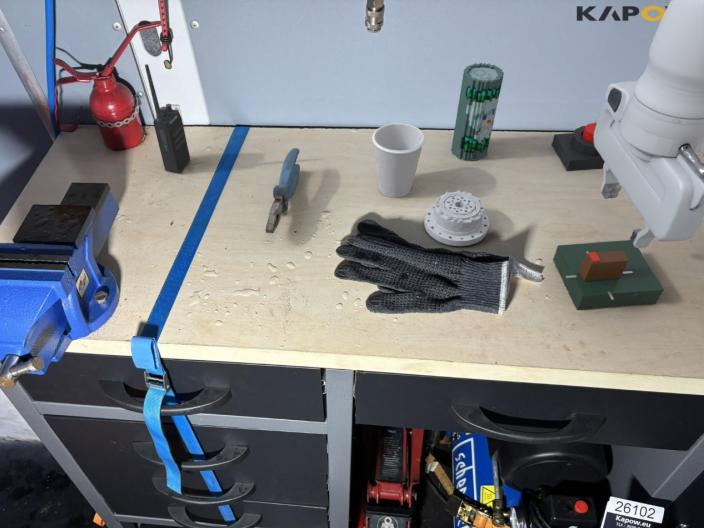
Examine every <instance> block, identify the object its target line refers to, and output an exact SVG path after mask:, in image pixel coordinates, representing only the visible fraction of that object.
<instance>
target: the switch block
mask: <svg viewBox="0 0 704 528" xmlns="http://www.w3.org/2000/svg"><path fill="white" fill-rule="evenodd" d="M585 127H586V125H581V126H579V127H577V128H575V129H574V131H573V132H569V133H568V132H567V133H566V132H565V133H554V135H553V139H552V142H551V146H552V148H553V150H554V152H555V154H557V157H558V159H559V160H560V162H561V163H562V165H563V168H564V169H565V170H566V171H567V172H569V171H582V170H583V171H584V170H596V169H597V170H598V169H603V165H604V163H605V161H604V160H603V158H602V157H601V155H600V154H599V152H598V151H597V149H596V148H595V146H594V143H593V142H588V141H587V140H585V139H583V137H582V135H583V132H584V129H585Z"/></svg>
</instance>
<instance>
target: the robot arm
mask: <svg viewBox="0 0 704 528" xmlns="http://www.w3.org/2000/svg"><path fill="white" fill-rule="evenodd" d="M647 57H648V58H647V64H646V67H645V69H644V71H643V73H642V74H641V75H640V77H639V78H638V79H637V80H630V81H620V82H613V83H610V84H609V85H608V87H607V88H606V91H605V96H604V99H605V101H606V102H605V103H604V104H603V105H602V108H601V110H600V114H599V115H598V119H597V122H596V123H597V124H596V128H595V131H594V146H595V148H596V149H597V151H598V152H599V154H600V155H601V157H602V158H603V160H604V161H605V163H604V165H603V168H602V172H603V173H602V183H601V186H600V189H599V192H600V193H601V195H602V196H603V198H604V199H606V200H608V199H616V198H617V197H618V196H619V193H620V191H621V189H622V190H623V192H624V193H625V194H626V196H627V197H628V199H629V201H630V202H631V204H632V205H633V207H634V208H635V209H636V211H637V213H638V214H639V216H640V217H641V219H642V220H643V223H642V227H643V228H642V229H641V228H635V229H633V231H632V233H631V236H630V237H629V240H631V241H632V243H633V245H634V246H635V248H638V249H643V248H647V247H649V246H650V245H651V243H652V241H653V239H654V238H655V240H657V241H658V242H664V243H665V242H681V241H687V240H691V239H692V238H693V237H694V236H695V235H696V233H697V232H698V230H699V228H700V226H701V224H702V221H703V219H704V162H703V161H702V160H701V159H700V157H699V154H698V152H701V150H703V149H704V0H670V2H669V4H668V5H667V7H666V9H665V10H664V13H663V15H662V18H661V19H660V22H659V24H658V27H657V28H656V31H655V34H654V36H653V39H652V41H651V44H650V46H649V49H648V56H647Z"/></svg>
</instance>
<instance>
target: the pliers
mask: <svg viewBox="0 0 704 528" xmlns="http://www.w3.org/2000/svg"><path fill="white" fill-rule="evenodd" d="M299 154H300V149H299V148H298V147H293V148H291V149H290V150H289V151H288V153H287V154H286V156H285V158H284V161H283V163H282V167H281V170H280V173H279V174H280V175H279V179H278V184H276V185H274V187H273V190H272V196H273V199H274V200H273V202H272V204H271V207H270V210H269V213H268V217H267V222H266V225H265V233H266V234H274V233H275V231H276V229H278V226H279V224H280V222H281V218H282V214H286V213H287V212H288V210H289V200H290V198H291V197H292V196H293V194H294V191H295V189H296V187H297V185H298V181H299V178H300V171H301V166H300V164H299V163H297V159H298V156H299Z"/></svg>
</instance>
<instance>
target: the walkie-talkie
mask: <svg viewBox="0 0 704 528" xmlns="http://www.w3.org/2000/svg"><path fill="white" fill-rule="evenodd" d="M144 68H145V73H146V77H147V81H148V85H149V90H150V94H151V99H152V102H153V107H154V111H155V116H156V117H155V119H154V120H153V122H152V123H153V124H152V125H153V128H154V132H155V135H156V140H157V144H158V147H159V152H160V155H161V160H162V164H163V168H164V171H168V172H172V173H177V174H180V173H181V172H182V171H183V170H184V169H185V167H187V165H188V164H189V163H190V162H191V155H190V151H189V150H190V149H189V146H188V142H187V137H186V132H185V127H184V121H183V118H182V115H181V113H180V111H179V110H178V109H173V108H172V104H171V103H166V104H165V106H160V103H159V100H158V96H157V92H156V88H155V84H154V81H153V77H152V73H151V70H150V67H149V64H148V63H147V64H144Z"/></svg>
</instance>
